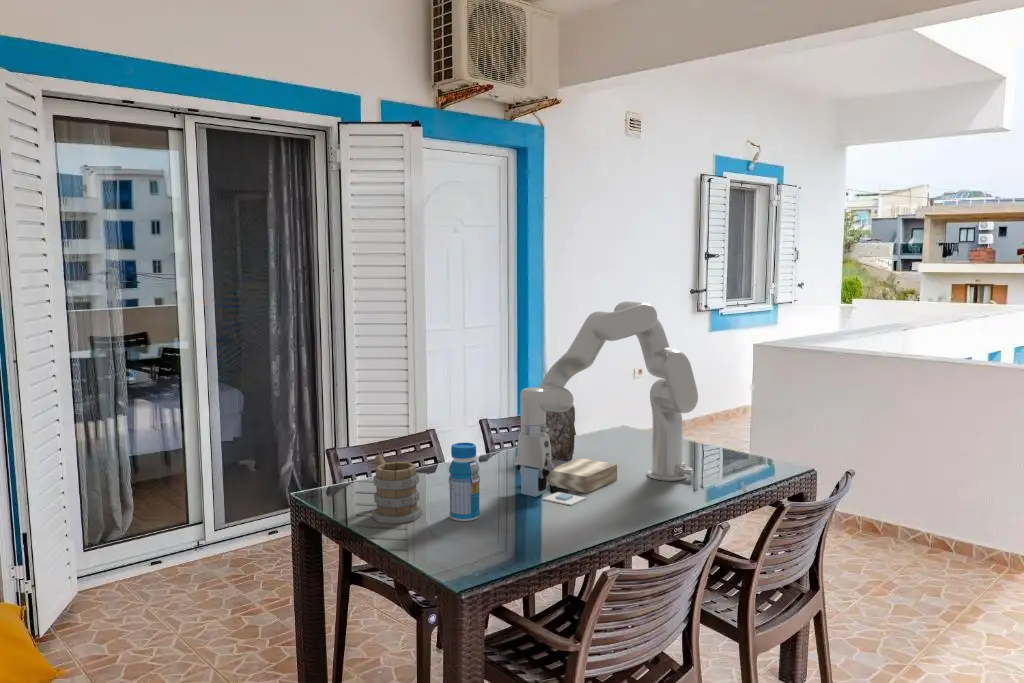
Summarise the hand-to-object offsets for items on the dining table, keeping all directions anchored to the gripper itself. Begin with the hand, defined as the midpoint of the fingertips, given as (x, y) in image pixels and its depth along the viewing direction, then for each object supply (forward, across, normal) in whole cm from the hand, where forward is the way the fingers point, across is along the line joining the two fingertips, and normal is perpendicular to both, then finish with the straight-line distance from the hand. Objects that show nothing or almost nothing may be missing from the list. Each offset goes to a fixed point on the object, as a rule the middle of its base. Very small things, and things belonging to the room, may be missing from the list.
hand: (533, 487), depth 225 cm
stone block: (+2, +19, -40) cm, 44 cm away
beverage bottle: (+2, +2, +29) cm, 29 cm away
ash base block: (+1, -6, -18) cm, 19 cm away
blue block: (+2, 0, 0) cm, 2 cm away
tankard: (+2, +21, +38) cm, 43 cm away
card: (+2, -11, 0) cm, 11 cm away
